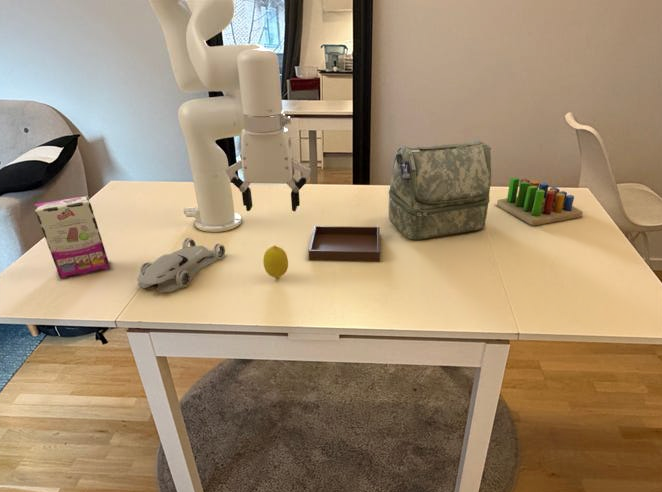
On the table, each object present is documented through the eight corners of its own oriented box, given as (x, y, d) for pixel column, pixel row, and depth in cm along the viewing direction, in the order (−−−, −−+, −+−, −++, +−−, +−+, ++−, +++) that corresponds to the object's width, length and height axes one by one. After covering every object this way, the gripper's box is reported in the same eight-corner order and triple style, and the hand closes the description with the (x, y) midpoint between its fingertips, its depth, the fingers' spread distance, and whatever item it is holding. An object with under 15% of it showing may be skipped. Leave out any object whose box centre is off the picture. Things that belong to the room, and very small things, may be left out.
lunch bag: (404, 245, 139) (409, 158, 126) (379, 219, 153) (381, 138, 140) (493, 232, 146) (507, 148, 133) (462, 208, 160) (472, 130, 147)
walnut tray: (309, 260, 133) (308, 250, 131) (314, 234, 145) (314, 225, 143) (379, 261, 132) (379, 252, 131) (379, 235, 144) (379, 226, 143)
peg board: (582, 217, 155) (590, 187, 150) (532, 226, 149) (539, 196, 144) (543, 197, 168) (549, 169, 162) (495, 205, 162) (500, 176, 157)
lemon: (293, 274, 127) (290, 242, 122) (283, 285, 122) (280, 252, 118) (271, 270, 128) (268, 239, 123) (260, 281, 124) (257, 249, 119)
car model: (229, 254, 135) (226, 235, 132) (168, 301, 117) (163, 280, 114) (191, 247, 138) (188, 228, 135) (126, 291, 120) (120, 271, 117)
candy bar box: (108, 261, 132) (88, 194, 122) (111, 269, 128) (91, 201, 119) (57, 270, 128) (33, 202, 118) (59, 279, 124) (34, 210, 114)
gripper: (310, 118, 108) (314, 203, 118) (224, 118, 108) (235, 202, 118) (306, 127, 102) (311, 215, 112) (215, 127, 102) (227, 215, 112)
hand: (272, 208), depth 115 cm, fingers open, 9 cm apart
